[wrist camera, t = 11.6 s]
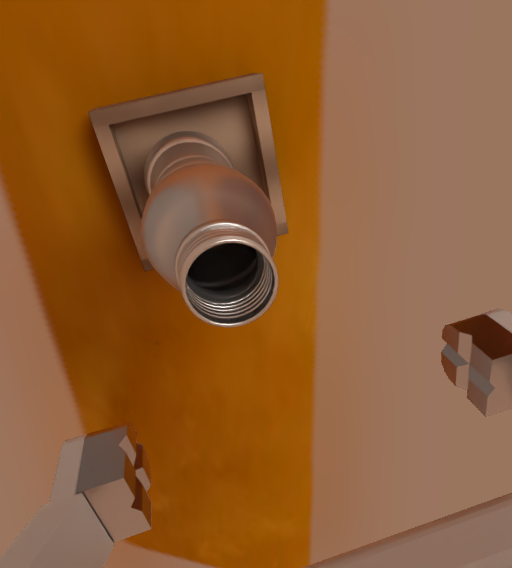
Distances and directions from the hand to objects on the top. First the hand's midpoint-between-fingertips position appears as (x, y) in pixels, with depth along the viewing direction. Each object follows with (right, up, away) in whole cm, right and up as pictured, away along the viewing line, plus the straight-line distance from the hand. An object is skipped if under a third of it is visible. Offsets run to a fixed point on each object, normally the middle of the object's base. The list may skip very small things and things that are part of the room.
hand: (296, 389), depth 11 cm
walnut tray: (-6, +12, +23) cm, 27 cm away
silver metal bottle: (-6, +11, +22) cm, 26 cm away
